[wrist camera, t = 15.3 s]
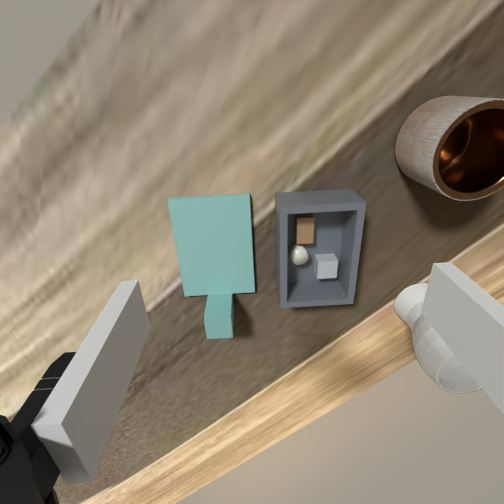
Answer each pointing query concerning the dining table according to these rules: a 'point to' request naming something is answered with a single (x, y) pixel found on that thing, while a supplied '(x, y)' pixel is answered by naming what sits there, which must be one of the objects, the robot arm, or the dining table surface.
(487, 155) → the planter
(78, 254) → the dining table surface
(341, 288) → the tub
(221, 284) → the lid
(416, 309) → the cup
